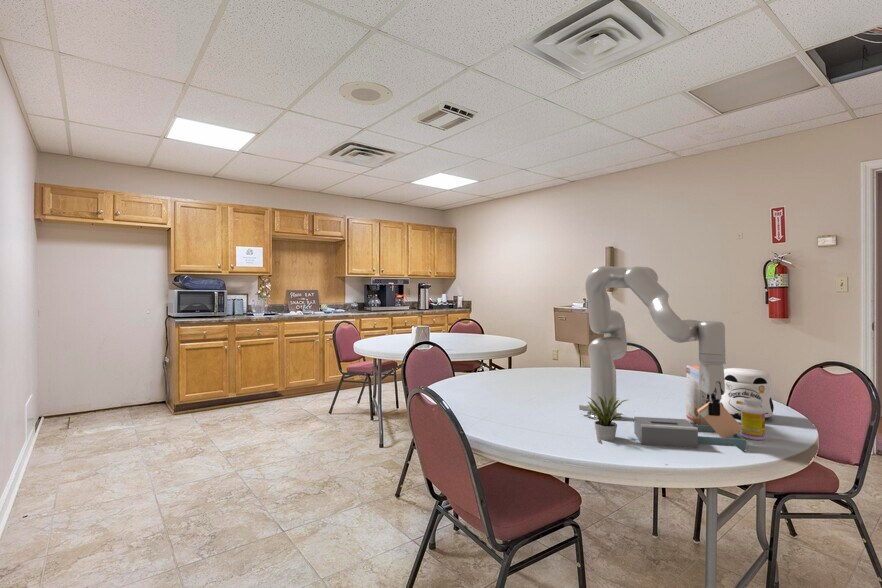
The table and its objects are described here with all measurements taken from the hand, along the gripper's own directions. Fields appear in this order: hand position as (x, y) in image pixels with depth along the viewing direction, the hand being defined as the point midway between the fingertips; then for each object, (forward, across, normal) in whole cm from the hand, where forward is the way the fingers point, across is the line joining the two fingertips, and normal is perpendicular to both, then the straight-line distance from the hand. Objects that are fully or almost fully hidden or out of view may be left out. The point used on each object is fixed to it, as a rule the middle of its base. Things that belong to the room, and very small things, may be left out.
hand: (713, 414), depth 145 cm
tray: (+9, 0, 0) cm, 9 cm away
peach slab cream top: (+6, 0, +6) cm, 8 cm away
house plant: (+9, +7, -33) cm, 35 cm away
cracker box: (+9, -24, +4) cm, 26 cm away
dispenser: (+9, +6, -16) cm, 19 cm away
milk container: (+9, -36, +24) cm, 44 cm away
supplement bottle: (+10, -8, +15) cm, 20 cm away
